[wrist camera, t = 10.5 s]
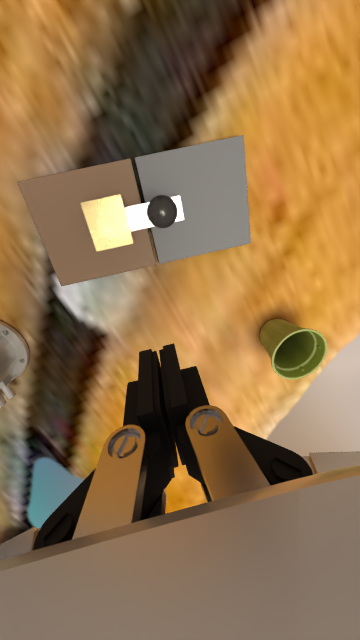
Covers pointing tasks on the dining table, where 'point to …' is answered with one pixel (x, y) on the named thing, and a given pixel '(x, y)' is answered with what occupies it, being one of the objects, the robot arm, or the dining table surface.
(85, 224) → the lock base
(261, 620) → the robot arm
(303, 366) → the plant pot
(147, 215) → the bolt
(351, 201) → the dining table surface
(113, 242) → the block
